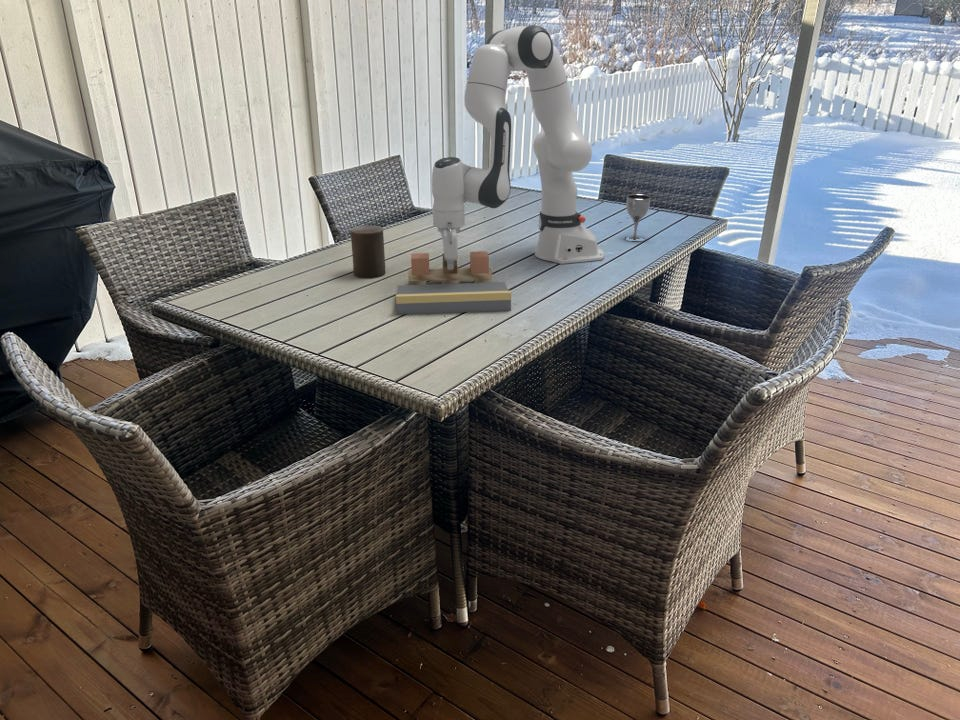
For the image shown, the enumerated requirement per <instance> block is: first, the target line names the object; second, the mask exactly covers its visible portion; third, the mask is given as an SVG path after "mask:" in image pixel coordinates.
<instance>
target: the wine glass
mask: <svg viewBox="0 0 960 720" xmlns="http://www.w3.org/2000/svg"><path fill="white" fill-rule="evenodd" d="M651 199H652V197H651V196H650V195H648V194H644V193H643V194H642V193H641V194H640V193H633V194H628V195H626V210H627V211H626V212H627V214H628V215H629V217H630V218H631V220H632V222H633V227H634V228H633V229H634V230H633V231H634V232H633V235H631V237H629V236H628V237H629V239H633V240H636V239H640V237H641V236H637V231H638V225H639V223H640V222H641V220H642V219H643V218H644V217H645V216H646V215H647V214H648V211H649V209H650V204H651Z"/></svg>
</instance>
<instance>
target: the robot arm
mask: <svg viewBox="0 0 960 720" xmlns="http://www.w3.org/2000/svg"><path fill="white" fill-rule="evenodd" d="M519 71H524V73H526V75H527V80H528V87H529V92H530V97H531V100H532V106H533V111H534V114H535V115H534V116H535V118H536V120H537V121H538V122H539V124H540V127H541V128H542V131H540V132H539V133H538V134H536V136H535V137H534V140H533V143H532V146H533V147H532V148H533V149H532V150H533V152H534V154H535V157H536V160H537V164H538V171H539V176H540V183H541V202H540V203H541V204H540V205H541V206H540V207H541V210H540V211H539V217H538V228H539V229H538V230H539V234H538V240H537V245H536V249H535V252H534V256H535V257H536V258H538V259H541V260H544V261H547V262H552V263H553V262H554V263H557V264H561V265H562V264H563V265H564V264H572V263H574V264H575V263H584V262H594V261H602V260H604V258H605V253H604V251H603V250H602V249H601V248H600V247H598V240H597V238H596V236H595V235H594V233H593V232H591V230H589V229H588V228H587V227H585V226H584V225H583V223H585V222H586V220H587V219H586V217H585V216H584V215H582V214H581V213H579V212H578V211H577V200H578V187H577V186H578V185H577V183H576V182H575V179H574V175H573V173H574V172H580V171H582V170H583V169H585V168H586V167H587V166H588V165H589V164H590V161H591V160H592V154H593V150H592V147H591V144H590V143H589V142H588V141H587V139H586V138H585V135H584V134H583V133H584V132H583V131H582V129H581V125H580V123H579V121H578V118H577V116H576V113H575V110H574V108H573V103H572V98H571V94H570V89H569V83H568V79H567V73H566V70H565V66H564V63H563V60H562V57H561V54H560V52H559V49H558V48H557V47H556V46H555V45H554V44H553V40H552V37H551V35H550V33H549V32H548V31H547V29H546V28H544V27H543V26H539V25H535V24H531V25H519V26H514V27H513V26H512V27H511V28H508V29H502V30H501V29H500V30H498V31H496V32H494V33H492V34H491V35H490V36H489V37H488V38H487V40H486V42H485V44H483V45H481V46H479V47H478V48H477V49H476V51H475V53H474V55H473V57H472V61H471V63H470V67H469V71H468V75H467V76H468V77H467V80H466V86H465V90H464V97H463V98H464V106H465V107H464V108H465V110H466V111H467V113H468V114H469V115H470V117H471V118H472V119H474V120H475V121H476V122H478V123H479V124H480V125H482V126H483V127H484V128H485V129H486V130H487V131H488V133H489V135H490V153H489V166H488V168H487V169H486V168H485V169H484V168H480V167H474V166H470V165H467V164H466V163H463V162H462V159H460V158H459V157H455V156H449V157H443V158H442V157H441V158H439V159H438V160H436V161H435V162H434V164H433V167H432V171H431V173H432V174H431V194H432V197H433V203H432V204H433V205H432V223H433V225H432V226H433V227H435V228H436V229H437V232H439V233H440V235H441V241H442V247H443V248H442V249H443V253H444V258H445V260H446V261H447V269H448V270H453V269H454V260H457V261H458V258H459V255H458V254H459V248H458V234H457V233H460V231H461V228H462V227H464V226H465V222H466V219H465V218H466V217H465V211H466V210H465V204H464V203H465V202H468V203H469V204H470V203H471V204H476V205H482V206H484V207H487V208H491V209H498V208H499V207H501V206H502V205H504V204H505V202H506V201H507V200H508V199H509V197H510V194H511V188H512V186H511V178H510V177H511V176H510V163H511V144H512V119H511V114H510V112H509V111H508V110H507V108H506V107H507V106H506V93H507V89H508V82H509V81H508V80H509V77H510V74H511V72H519Z"/></svg>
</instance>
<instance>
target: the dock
mask: <svg viewBox="0 0 960 720" xmlns="http://www.w3.org/2000/svg"><path fill="white" fill-rule="evenodd" d="M395 303H396V304H395V306H396V315H420V314H445V313H446V314H447V313H449V314H451V313H452V314H453V313H472V312H473V313H474V312H475V313H476V312H477V313H478V312H503V311H505V312H506V310H507V311H512V291H511V290H508V287H507V285H506V282H505V281H498V282H497V281H492V282H488V283H474V282H465V283H464V282H462V283H460V282H459V283H457V284H442V283H438V284H437V283H434V284H433V283H432V284H431V283H430V284H427V283H426V285H409V284H401V285H397V288H396V294H395Z"/></svg>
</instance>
